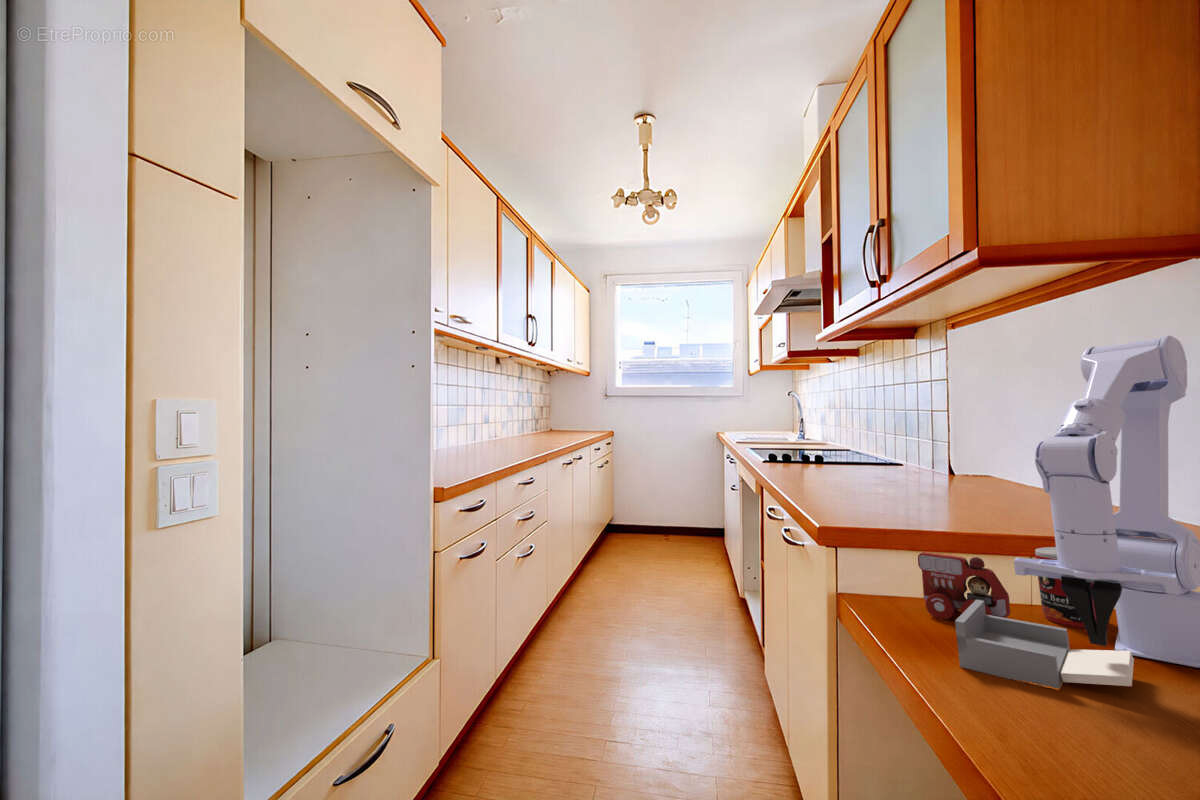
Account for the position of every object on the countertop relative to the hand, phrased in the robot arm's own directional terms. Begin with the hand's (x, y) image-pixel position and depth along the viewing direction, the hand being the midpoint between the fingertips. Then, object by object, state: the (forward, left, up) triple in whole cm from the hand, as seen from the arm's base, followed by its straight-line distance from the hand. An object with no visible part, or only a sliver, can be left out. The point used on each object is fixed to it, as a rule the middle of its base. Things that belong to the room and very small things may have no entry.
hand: (1098, 642), depth 62 cm
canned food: (+4, -25, -5) cm, 25 cm away
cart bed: (+8, 0, -5) cm, 10 cm away
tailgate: (+3, 0, -3) cm, 4 cm away
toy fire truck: (+17, -16, -5) cm, 24 cm away
